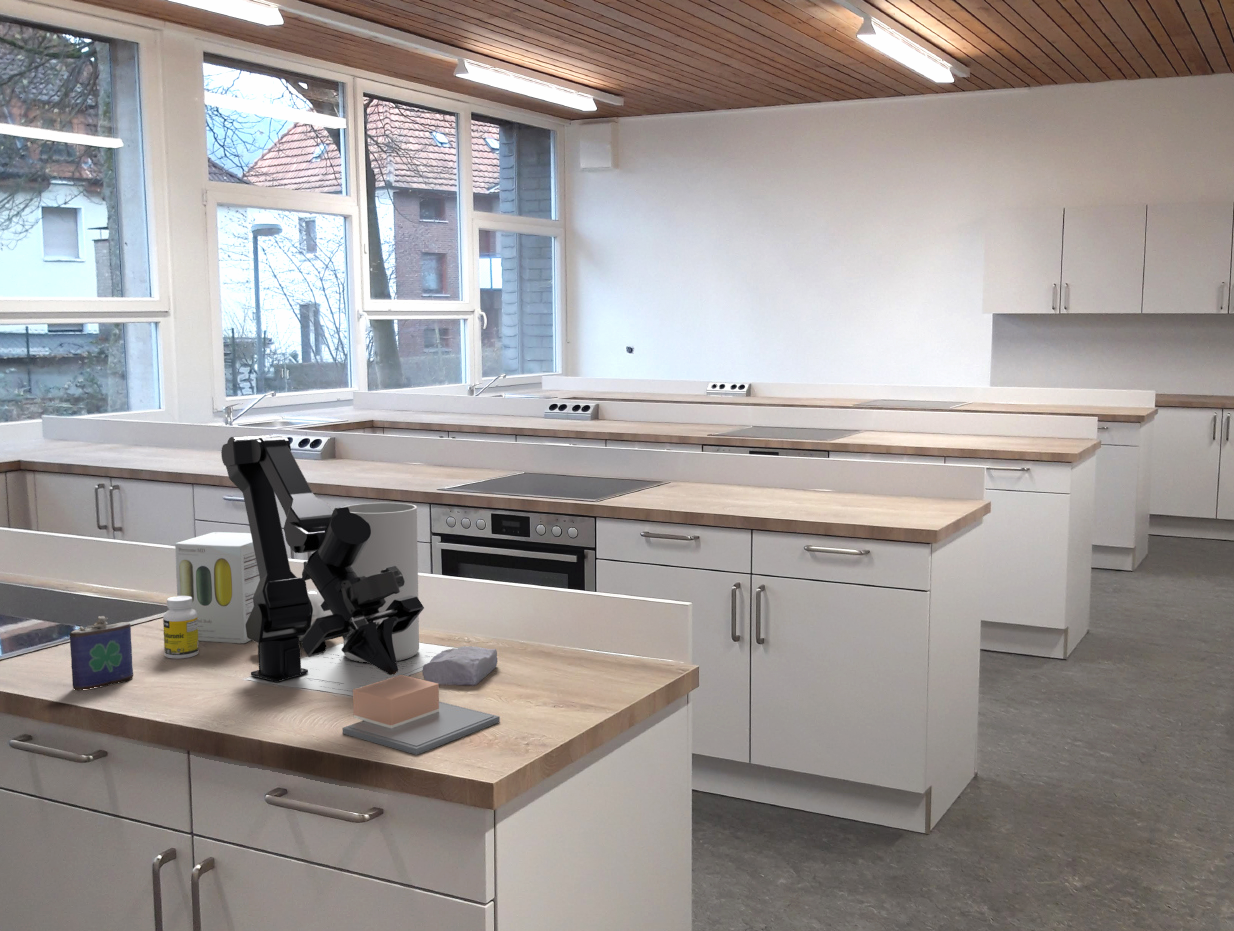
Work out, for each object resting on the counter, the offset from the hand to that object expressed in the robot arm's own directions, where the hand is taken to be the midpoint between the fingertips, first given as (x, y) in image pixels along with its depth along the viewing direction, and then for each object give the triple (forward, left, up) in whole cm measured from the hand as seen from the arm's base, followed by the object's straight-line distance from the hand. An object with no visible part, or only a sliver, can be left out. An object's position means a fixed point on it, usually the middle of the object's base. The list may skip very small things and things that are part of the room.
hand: (394, 673), depth 162 cm
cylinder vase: (-27, +23, -7) cm, 36 cm away
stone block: (-9, +22, -7) cm, 25 cm away
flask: (-49, -14, -7) cm, 52 cm away
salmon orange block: (-4, 0, -4) cm, 5 cm away
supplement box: (-60, +17, -7) cm, 63 cm away
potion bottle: (-43, +19, -7) cm, 48 cm away
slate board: (+5, 0, -7) cm, 9 cm away
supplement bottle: (-54, +3, -7) cm, 55 cm away
